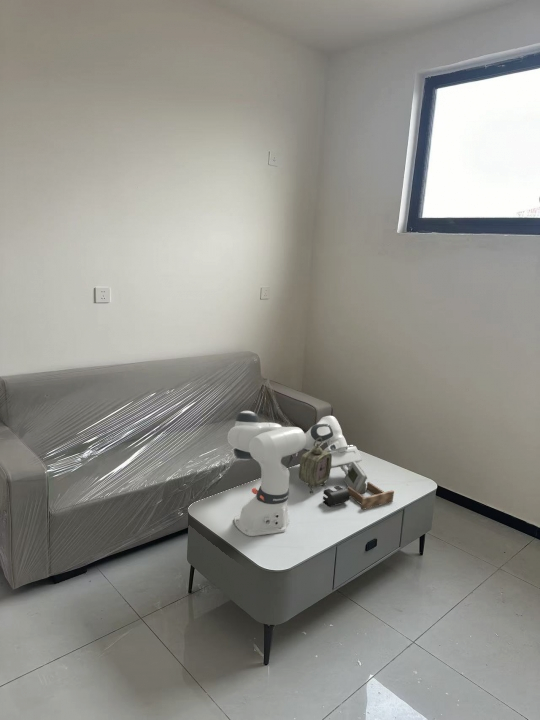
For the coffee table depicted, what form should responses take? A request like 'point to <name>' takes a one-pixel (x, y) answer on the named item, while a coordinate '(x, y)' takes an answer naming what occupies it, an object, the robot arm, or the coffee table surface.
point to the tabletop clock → (315, 466)
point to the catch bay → (372, 500)
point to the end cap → (336, 496)
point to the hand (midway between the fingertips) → (348, 474)
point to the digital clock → (356, 478)
